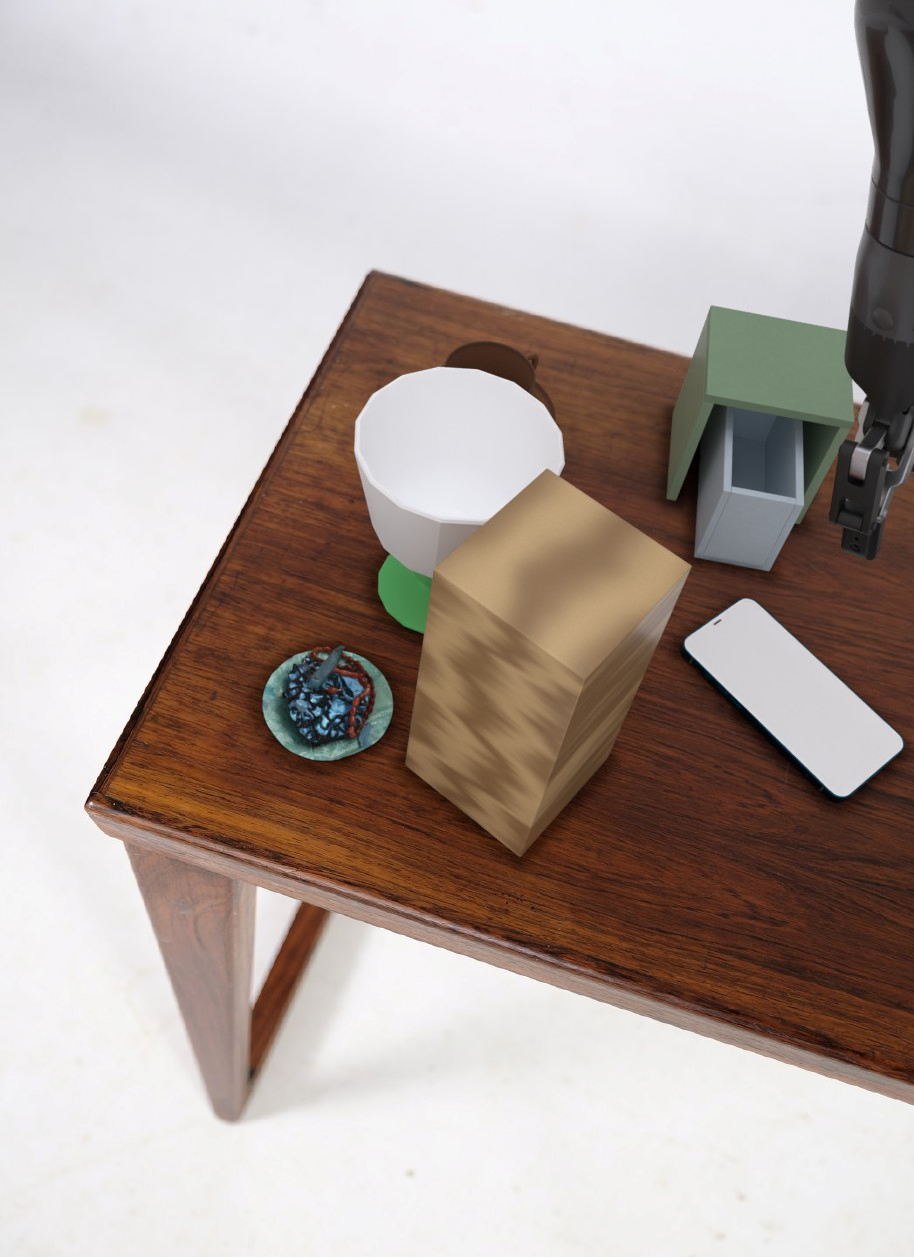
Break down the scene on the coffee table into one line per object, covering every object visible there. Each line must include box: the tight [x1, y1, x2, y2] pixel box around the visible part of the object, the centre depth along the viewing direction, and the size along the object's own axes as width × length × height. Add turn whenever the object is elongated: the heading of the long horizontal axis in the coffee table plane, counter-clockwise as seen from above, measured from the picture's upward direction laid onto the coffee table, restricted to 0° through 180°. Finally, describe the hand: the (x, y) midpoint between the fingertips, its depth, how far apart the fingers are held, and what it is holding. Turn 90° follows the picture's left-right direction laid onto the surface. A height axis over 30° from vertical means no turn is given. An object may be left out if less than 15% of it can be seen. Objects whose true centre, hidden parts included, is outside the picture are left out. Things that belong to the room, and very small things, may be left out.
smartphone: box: [680, 597, 905, 803], centre depth 87 cm, size 8×1×16 cm
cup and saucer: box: [439, 340, 557, 424], centre depth 97 cm, size 12×12×6 cm
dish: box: [262, 645, 394, 762], centre depth 82 cm, size 8×7×8 cm
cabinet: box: [666, 304, 855, 525], centre depth 95 cm, size 10×11×12 cm
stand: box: [404, 469, 692, 858], centre depth 73 cm, size 10×10×22 cm
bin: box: [693, 404, 804, 572], centre depth 94 cm, size 14×6×8 cm, turn 171°
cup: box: [353, 366, 566, 635], centre depth 83 cm, size 14×14×16 cm
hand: (887, 509), depth 76 cm, fingers open, 8 cm apart
